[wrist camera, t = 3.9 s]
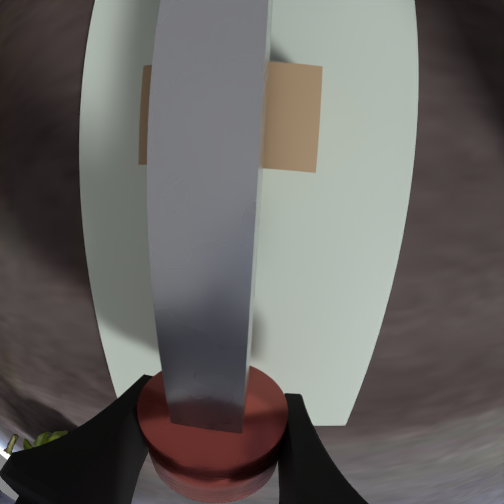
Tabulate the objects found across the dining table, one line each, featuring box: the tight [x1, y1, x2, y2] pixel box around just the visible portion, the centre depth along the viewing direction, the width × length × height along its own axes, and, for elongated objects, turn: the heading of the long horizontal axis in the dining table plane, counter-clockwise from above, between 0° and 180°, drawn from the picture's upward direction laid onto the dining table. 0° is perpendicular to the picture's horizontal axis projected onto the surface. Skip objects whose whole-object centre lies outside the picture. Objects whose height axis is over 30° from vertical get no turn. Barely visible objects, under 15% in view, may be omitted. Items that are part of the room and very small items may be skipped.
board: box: [79, 0, 418, 426], centre depth 11 cm, size 13×27×1 cm, turn 177°
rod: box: [137, 0, 288, 503], centre depth 7 cm, size 5×21×5 cm, turn 177°
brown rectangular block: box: [139, 62, 323, 173], centre depth 9 cm, size 5×3×2 cm, turn 87°
